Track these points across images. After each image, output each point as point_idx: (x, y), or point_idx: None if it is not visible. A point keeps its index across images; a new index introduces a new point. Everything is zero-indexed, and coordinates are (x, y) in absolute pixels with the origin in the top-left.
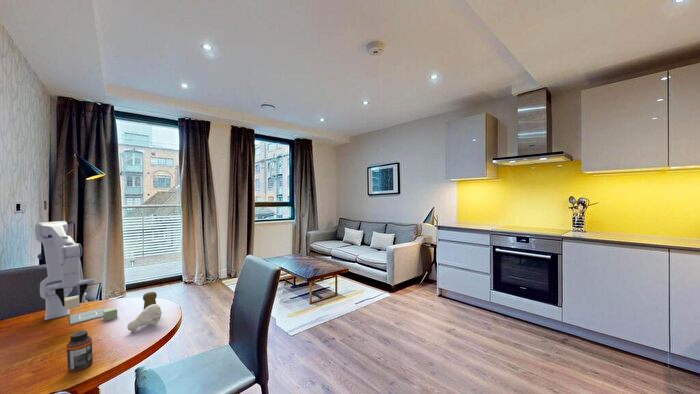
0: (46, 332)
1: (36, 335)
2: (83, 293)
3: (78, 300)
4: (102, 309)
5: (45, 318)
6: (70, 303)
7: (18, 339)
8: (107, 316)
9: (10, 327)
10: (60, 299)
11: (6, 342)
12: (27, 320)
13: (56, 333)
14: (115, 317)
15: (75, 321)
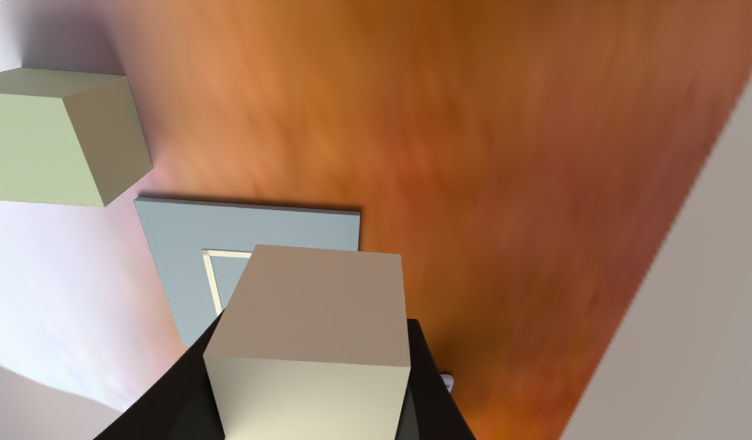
0: (491, 188)
1: (545, 182)
2: (102, 434)
3: (233, 319)
4: (186, 323)
5: (448, 387)
6: (337, 306)
7: (627, 198)
8: (73, 82)
9: (568, 391)
10: (462, 421)
11: (680, 203)
12: (499, 418)
13: (453, 101)
14: (31, 70)
15: (328, 236)
